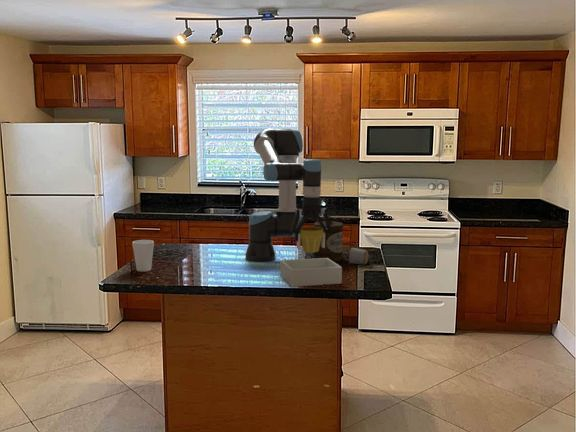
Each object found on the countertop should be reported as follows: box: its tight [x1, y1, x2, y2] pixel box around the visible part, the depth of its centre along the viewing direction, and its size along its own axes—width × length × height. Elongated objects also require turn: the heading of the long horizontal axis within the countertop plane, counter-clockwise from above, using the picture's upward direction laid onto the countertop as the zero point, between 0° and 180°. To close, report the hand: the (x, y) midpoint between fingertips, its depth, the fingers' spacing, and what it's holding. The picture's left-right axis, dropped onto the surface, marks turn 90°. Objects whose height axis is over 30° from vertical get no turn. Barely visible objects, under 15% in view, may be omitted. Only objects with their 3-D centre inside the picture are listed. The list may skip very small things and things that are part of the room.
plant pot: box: [299, 226, 323, 253], centre depth 231 cm, size 10×10×10 cm
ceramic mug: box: [348, 247, 370, 266], centre depth 265 cm, size 11×8×8 cm
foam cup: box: [132, 239, 155, 272], centre depth 246 cm, size 10×9×13 cm
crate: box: [279, 258, 343, 287], centre depth 233 cm, size 18×22×7 cm
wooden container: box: [312, 215, 344, 263], centre depth 273 cm, size 15×15×22 cm
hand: (310, 247), depth 231 cm, fingers closed on plant pot, 10 cm apart
